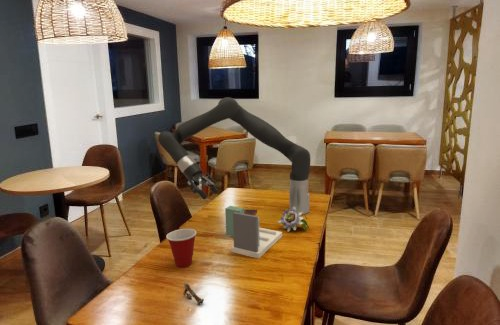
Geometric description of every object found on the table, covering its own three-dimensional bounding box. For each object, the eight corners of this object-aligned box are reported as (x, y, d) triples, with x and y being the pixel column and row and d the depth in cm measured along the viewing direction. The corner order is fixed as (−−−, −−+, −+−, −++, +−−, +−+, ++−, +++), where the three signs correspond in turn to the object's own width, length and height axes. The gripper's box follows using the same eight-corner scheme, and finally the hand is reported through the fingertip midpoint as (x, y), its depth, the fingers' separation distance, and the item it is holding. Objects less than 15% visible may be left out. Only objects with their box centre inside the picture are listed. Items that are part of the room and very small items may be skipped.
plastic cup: (181, 254, 139) (180, 225, 137) (204, 260, 134) (202, 230, 131) (161, 266, 130) (159, 235, 128) (184, 274, 125) (182, 241, 122)
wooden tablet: (241, 206, 188) (260, 206, 185) (242, 210, 189) (260, 210, 186) (223, 226, 164) (244, 226, 161) (224, 230, 164) (245, 230, 161)
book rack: (257, 231, 159) (256, 196, 156) (282, 236, 154) (282, 200, 150) (231, 251, 141) (230, 213, 137) (258, 258, 135) (258, 218, 131)
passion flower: (289, 242, 160) (272, 221, 159) (295, 229, 169) (280, 209, 168) (309, 233, 154) (292, 211, 153) (314, 220, 164) (299, 199, 162)
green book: (230, 231, 160) (230, 205, 157) (244, 234, 157) (244, 208, 154) (226, 234, 157) (225, 208, 154) (240, 237, 153) (239, 210, 151)
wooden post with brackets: (184, 290, 113) (187, 280, 111) (200, 308, 110) (204, 298, 107) (179, 293, 112) (182, 283, 110) (196, 311, 108) (199, 301, 106)
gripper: (183, 165, 153) (207, 195, 151) (203, 159, 166) (225, 186, 163) (174, 176, 157) (197, 205, 154) (194, 169, 169) (215, 196, 166)
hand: (211, 195), depth 159 cm, fingers open, 8 cm apart
